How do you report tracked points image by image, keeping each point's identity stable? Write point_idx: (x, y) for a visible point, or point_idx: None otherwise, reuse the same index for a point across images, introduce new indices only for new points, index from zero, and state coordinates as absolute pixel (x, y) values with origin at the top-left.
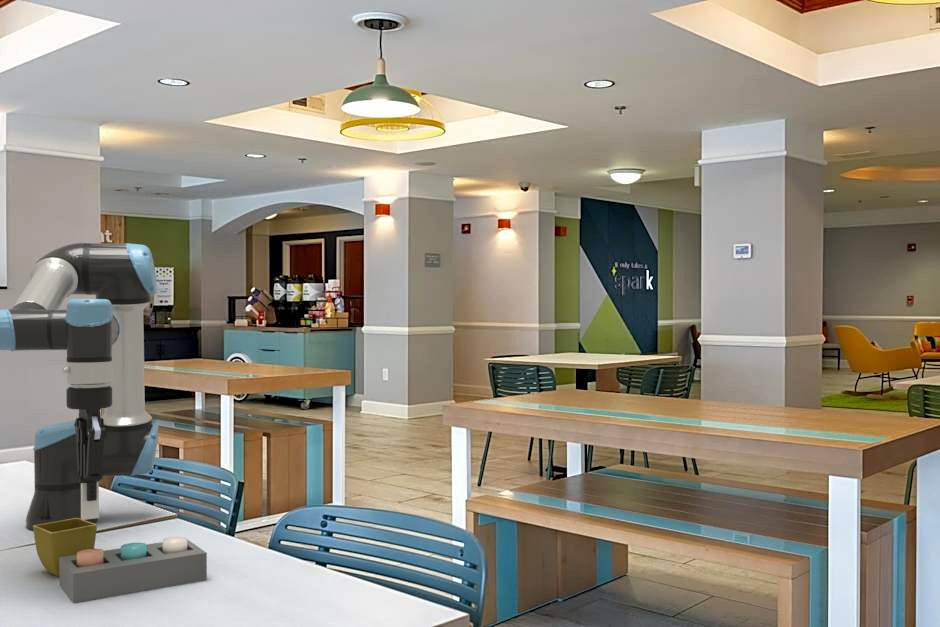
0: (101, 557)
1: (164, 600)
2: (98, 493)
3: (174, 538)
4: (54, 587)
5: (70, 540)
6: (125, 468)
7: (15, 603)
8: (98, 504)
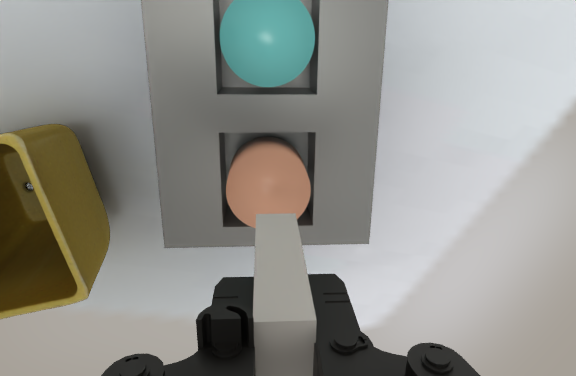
0: (296, 157)
1: (479, 11)
2: (305, 274)
3: None
4: None
5: (77, 219)
6: None
7: None
8: (300, 243)
